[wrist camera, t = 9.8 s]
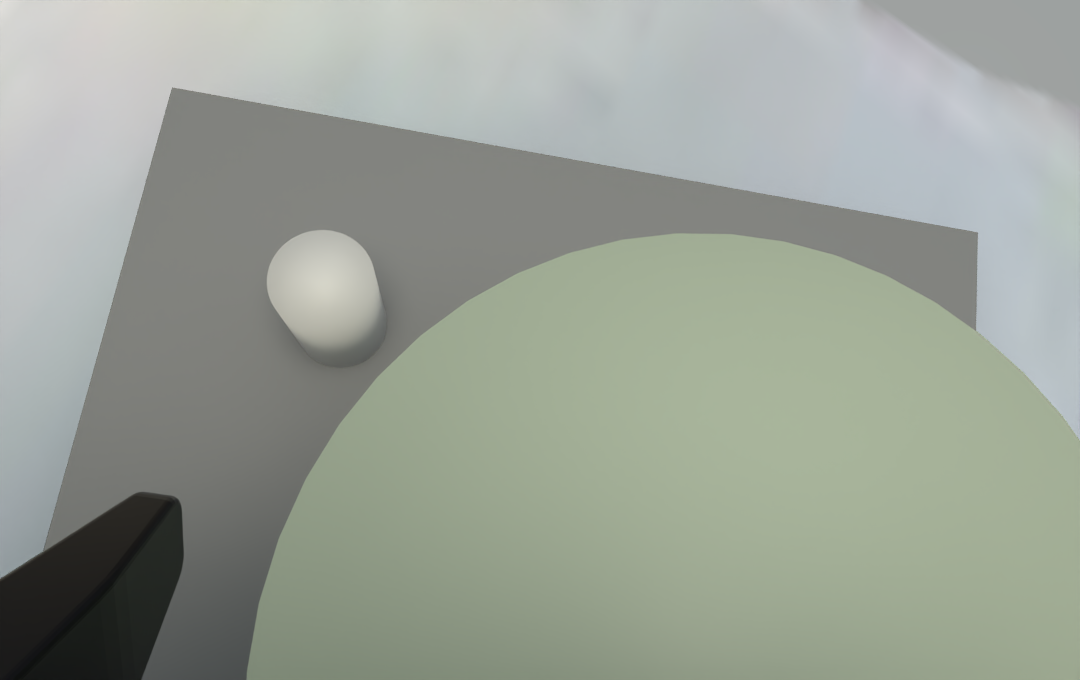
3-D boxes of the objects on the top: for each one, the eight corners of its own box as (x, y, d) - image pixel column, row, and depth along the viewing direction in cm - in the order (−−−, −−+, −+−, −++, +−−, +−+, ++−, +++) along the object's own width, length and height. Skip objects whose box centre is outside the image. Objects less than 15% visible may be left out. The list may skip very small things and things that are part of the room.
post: (706, 644, 17) (1363, 882, 5) (467, 786, 16) (537, 1544, 4) (581, 408, 18) (871, 107, 6) (345, 529, 17) (85, 477, 5)
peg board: (923, 1141, 16) (1081, 1336, 12) (-62, 1037, 15) (-247, 1216, 11) (948, 250, 21) (1069, 177, 17) (187, 114, 20) (121, 1, 16)
